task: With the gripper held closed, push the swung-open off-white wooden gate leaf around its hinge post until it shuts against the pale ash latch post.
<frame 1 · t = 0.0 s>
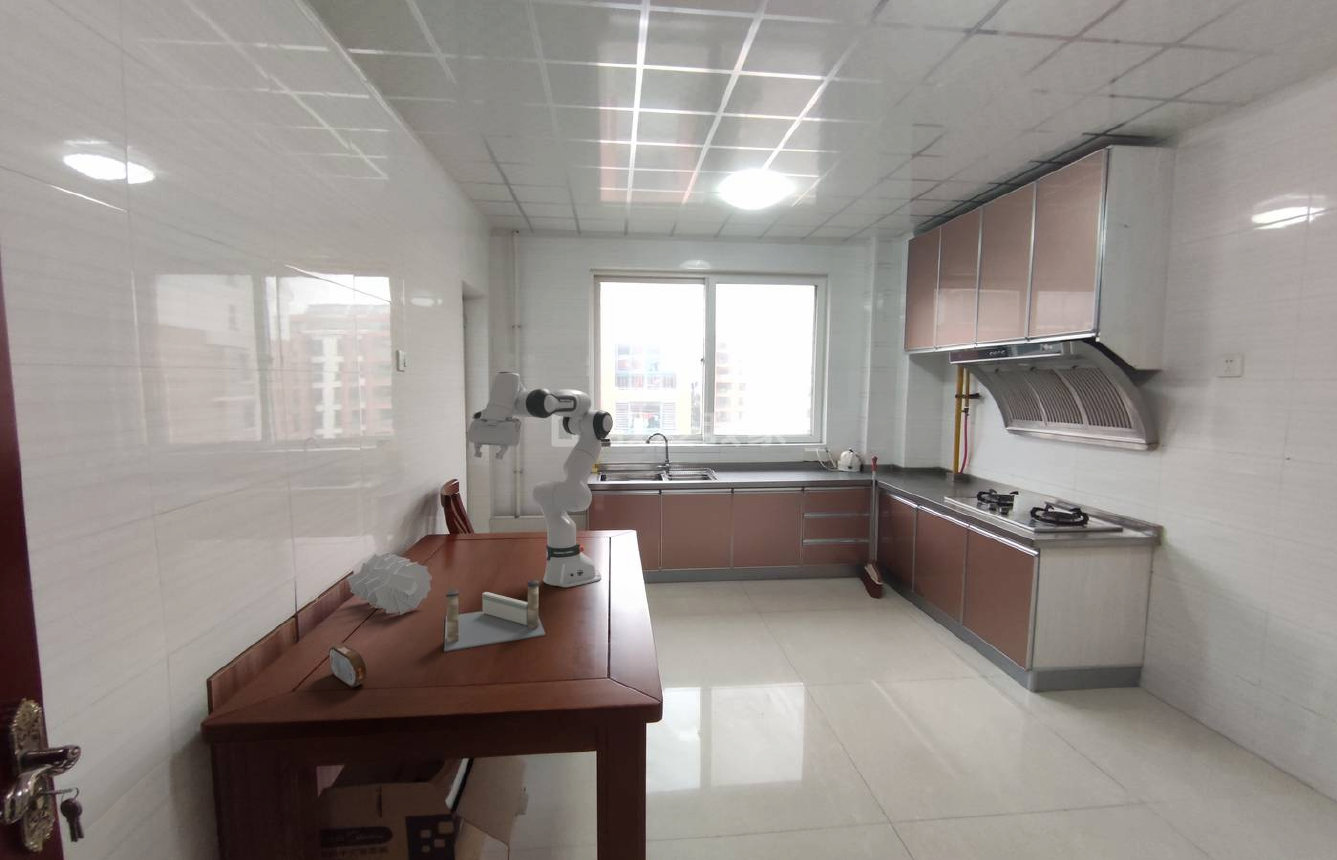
hand: (488, 458, 166), 52 cm above the table, tool tilted 20°, fingers open, 8 cm apart
mat: (493, 626, 160), on the table
tin: (347, 681, 129), on the table
gate leaf: (505, 608, 164), point 4 cm above the table, hinge at -50.0°
gate posts: (533, 628, 159), resting on mat
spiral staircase: (391, 607, 174), on the table
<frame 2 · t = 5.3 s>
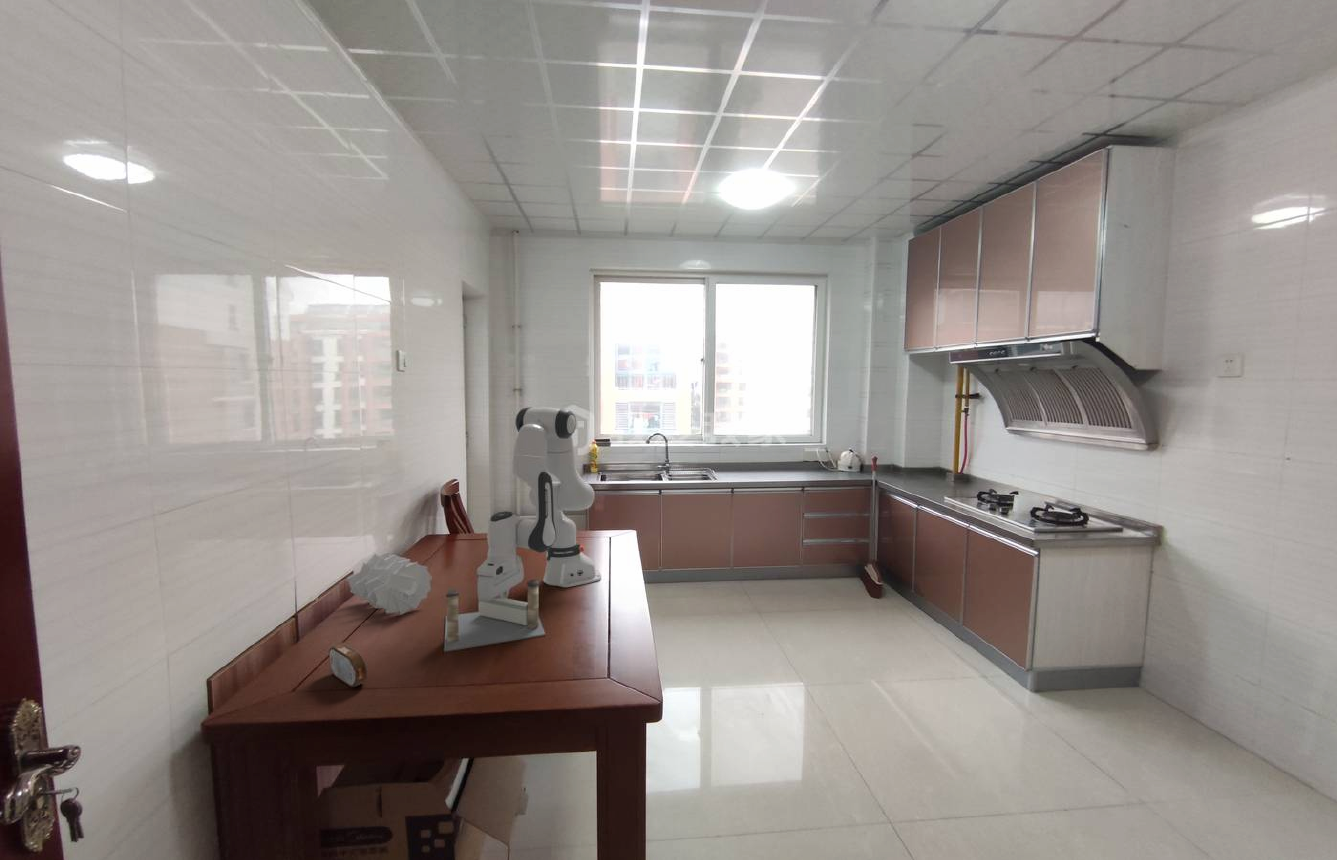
hand: (502, 604, 167), 4 cm above the table, tool pointing down, fingers closed
gate leaf: (503, 609, 163), point 4 cm above the table, hinge at -45.1°, touching gripper
everything else where it was.
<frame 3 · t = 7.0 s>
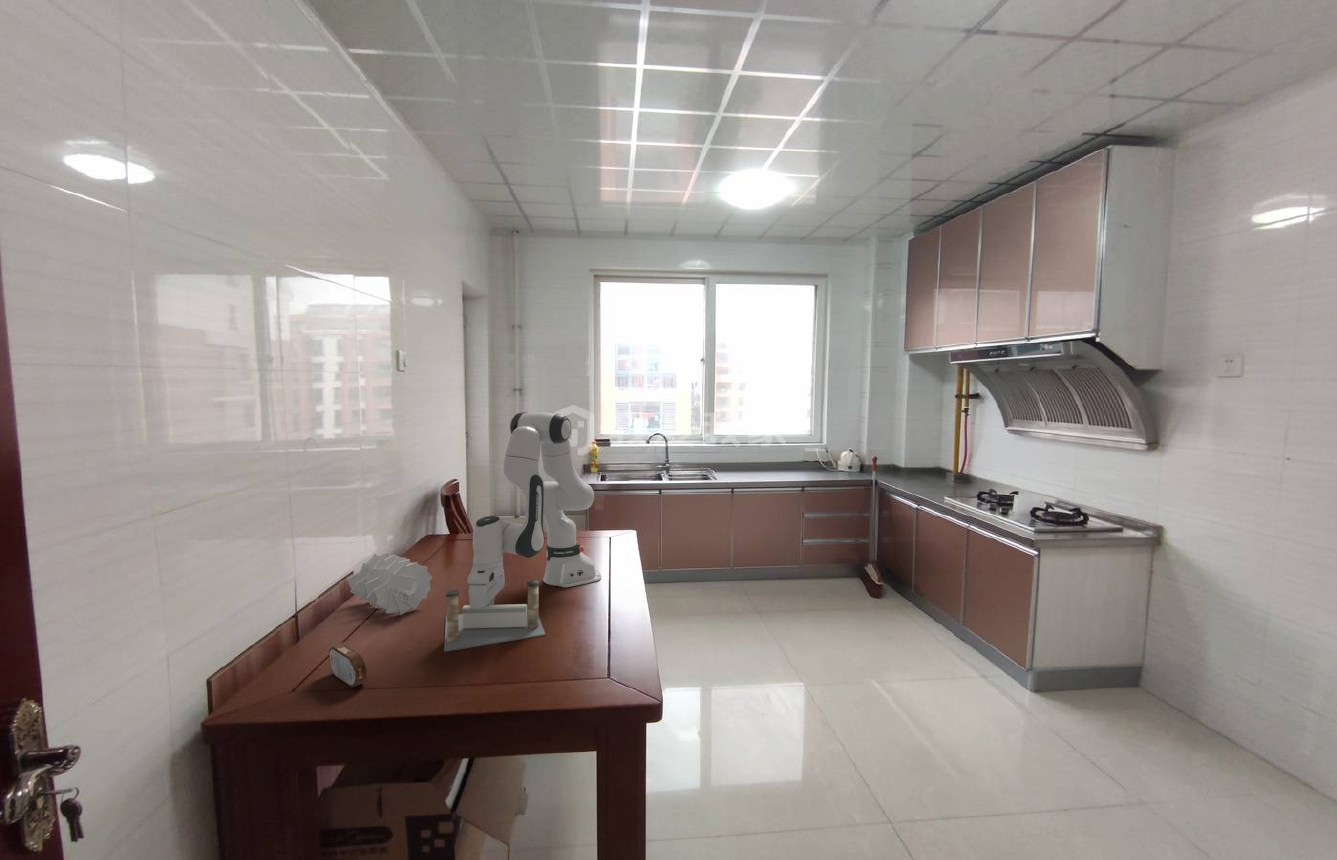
hand: (488, 612, 160), 4 cm above the table, tool pointing down, fingers closed
gate leaf: (495, 616, 157), point 4 cm above the table, hinge at -17.7°, touching gripper
everything else where it was.
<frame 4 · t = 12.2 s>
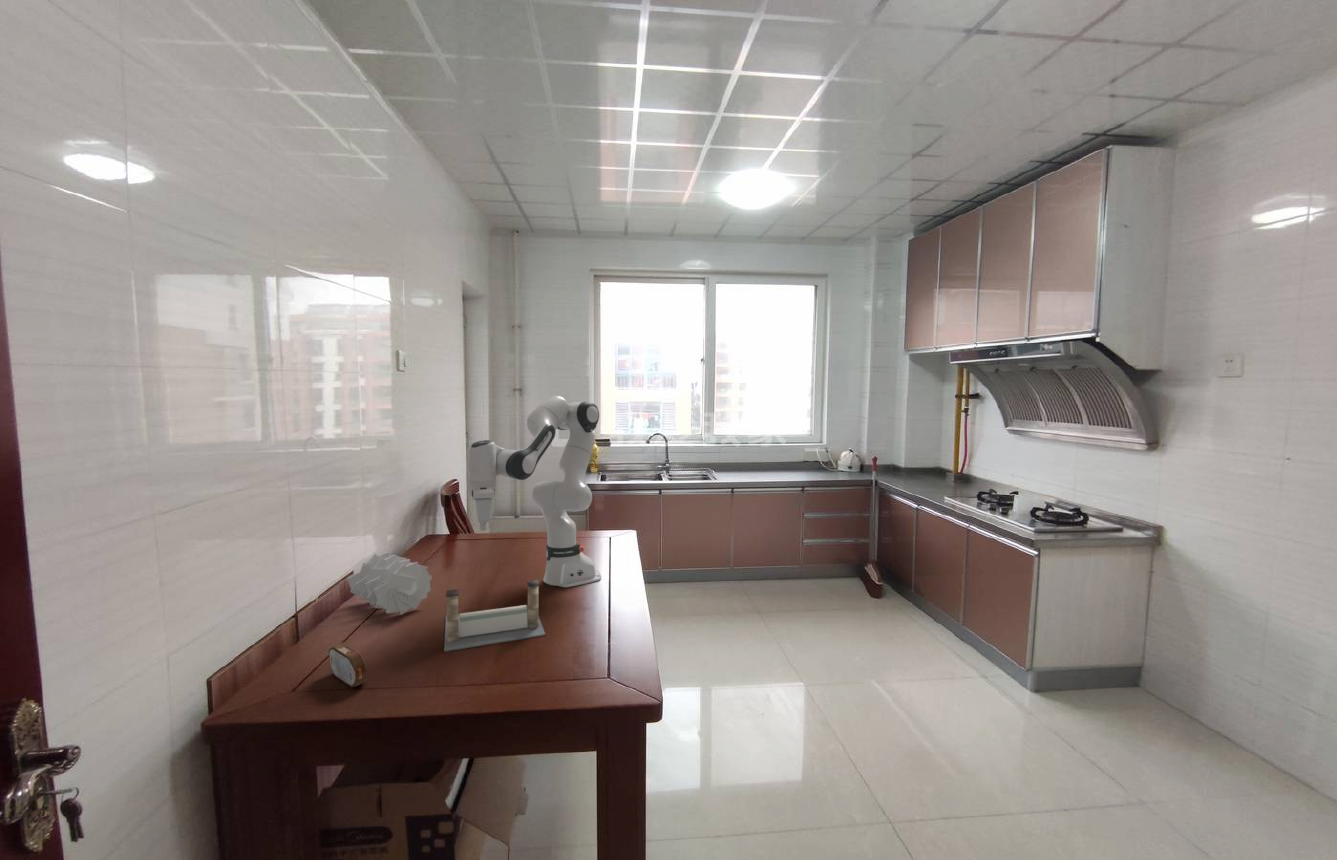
hand: (482, 529, 172), 27 cm above the table, tool pointing down, fingers closed
gate leaf: (494, 620, 154), point 4 cm above the table, hinge at -1.1°
everything else where it was.
at the end: gate leaf at -1° (first picture: -50°) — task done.
